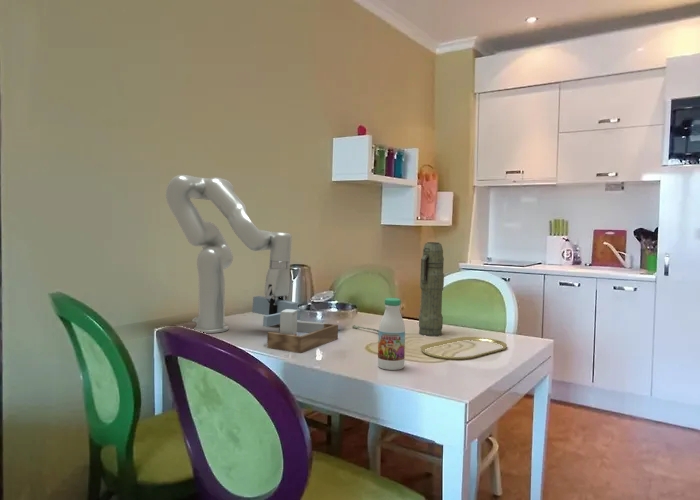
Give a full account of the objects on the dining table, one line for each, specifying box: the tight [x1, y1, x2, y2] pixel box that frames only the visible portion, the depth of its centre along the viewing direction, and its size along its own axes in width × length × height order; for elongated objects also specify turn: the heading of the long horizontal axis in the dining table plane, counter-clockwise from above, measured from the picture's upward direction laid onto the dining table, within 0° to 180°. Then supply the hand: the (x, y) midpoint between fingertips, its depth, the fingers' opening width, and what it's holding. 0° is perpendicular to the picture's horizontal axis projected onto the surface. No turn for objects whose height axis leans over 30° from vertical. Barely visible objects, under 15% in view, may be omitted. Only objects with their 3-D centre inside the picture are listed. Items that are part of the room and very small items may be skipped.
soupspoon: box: [351, 325, 379, 334], centre depth 199 cm, size 22×3×7 cm
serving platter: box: [420, 336, 508, 361], centre depth 176 cm, size 19×35×2 cm, turn 132°
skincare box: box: [279, 309, 298, 336], centre depth 175 cm, size 6×4×12 cm
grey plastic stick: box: [297, 320, 330, 334], centre depth 197 cm, size 12×3×4 cm, turn 76°
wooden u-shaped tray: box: [266, 322, 339, 354], centre depth 180 cm, size 13×24×5 cm, turn 153°
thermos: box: [418, 241, 445, 337], centre depth 199 cm, size 9×12×35 cm
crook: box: [251, 295, 302, 328], centre depth 187 cm, size 20×20×6 cm
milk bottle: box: [377, 297, 406, 371], centre depth 152 cm, size 8×8×20 cm
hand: (276, 314), depth 194 cm, fingers closed on crook, 3 cm apart
